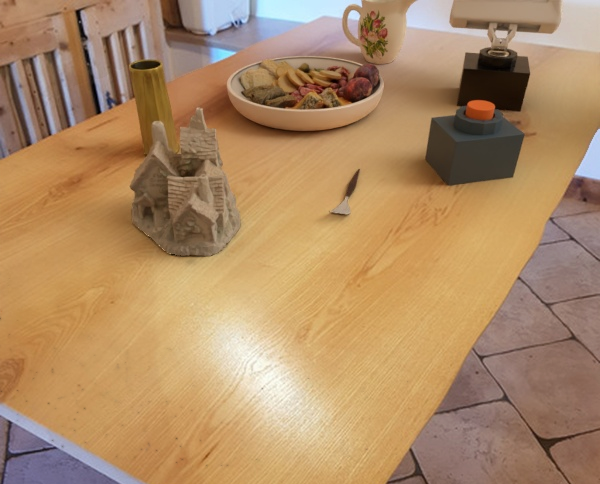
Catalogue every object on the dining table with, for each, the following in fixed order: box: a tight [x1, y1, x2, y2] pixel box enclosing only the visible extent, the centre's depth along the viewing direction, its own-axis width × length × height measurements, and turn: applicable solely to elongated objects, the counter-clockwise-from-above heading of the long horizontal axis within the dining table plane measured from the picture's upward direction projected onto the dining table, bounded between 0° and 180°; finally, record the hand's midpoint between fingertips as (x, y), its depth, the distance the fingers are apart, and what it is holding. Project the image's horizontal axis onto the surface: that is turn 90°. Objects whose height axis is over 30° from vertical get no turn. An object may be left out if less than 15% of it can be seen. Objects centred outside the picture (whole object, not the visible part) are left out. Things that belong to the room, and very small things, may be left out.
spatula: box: [328, 168, 361, 216], centre depth 82 cm, size 3×16×2 cm, turn 164°
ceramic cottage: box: [129, 106, 242, 257], centre depth 72 cm, size 16×16×15 cm
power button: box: [487, 50, 509, 57], centre depth 105 cm, size 4×4×2 cm
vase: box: [128, 58, 180, 156], centre depth 89 cm, size 6×6×14 cm
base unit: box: [456, 46, 531, 112], centre depth 107 cm, size 12×10×9 cm
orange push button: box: [465, 100, 495, 120], centre depth 82 cm, size 4×4×2 cm
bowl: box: [226, 55, 385, 132], centre depth 106 cm, size 30×30×8 cm
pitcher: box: [341, 0, 418, 65], centre depth 125 cm, size 11×18×14 cm, turn 61°
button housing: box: [424, 106, 526, 187], centre depth 85 cm, size 11×9×9 cm
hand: (498, 49), depth 104 cm, fingers closed, pressing on power button
